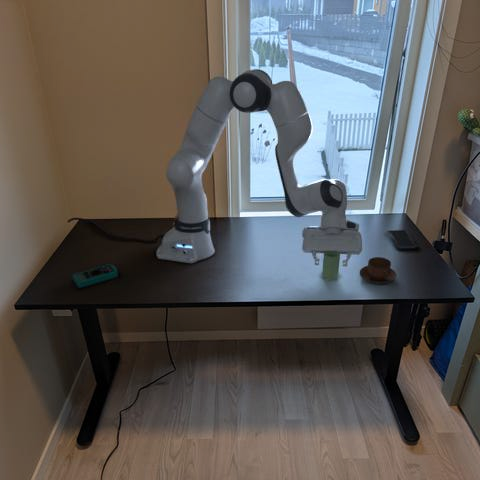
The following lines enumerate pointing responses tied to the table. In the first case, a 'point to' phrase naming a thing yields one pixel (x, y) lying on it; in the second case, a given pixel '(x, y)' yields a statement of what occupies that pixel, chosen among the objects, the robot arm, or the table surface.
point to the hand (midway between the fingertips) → (330, 265)
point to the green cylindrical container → (330, 265)
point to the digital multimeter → (95, 275)
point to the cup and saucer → (378, 271)
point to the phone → (401, 239)
